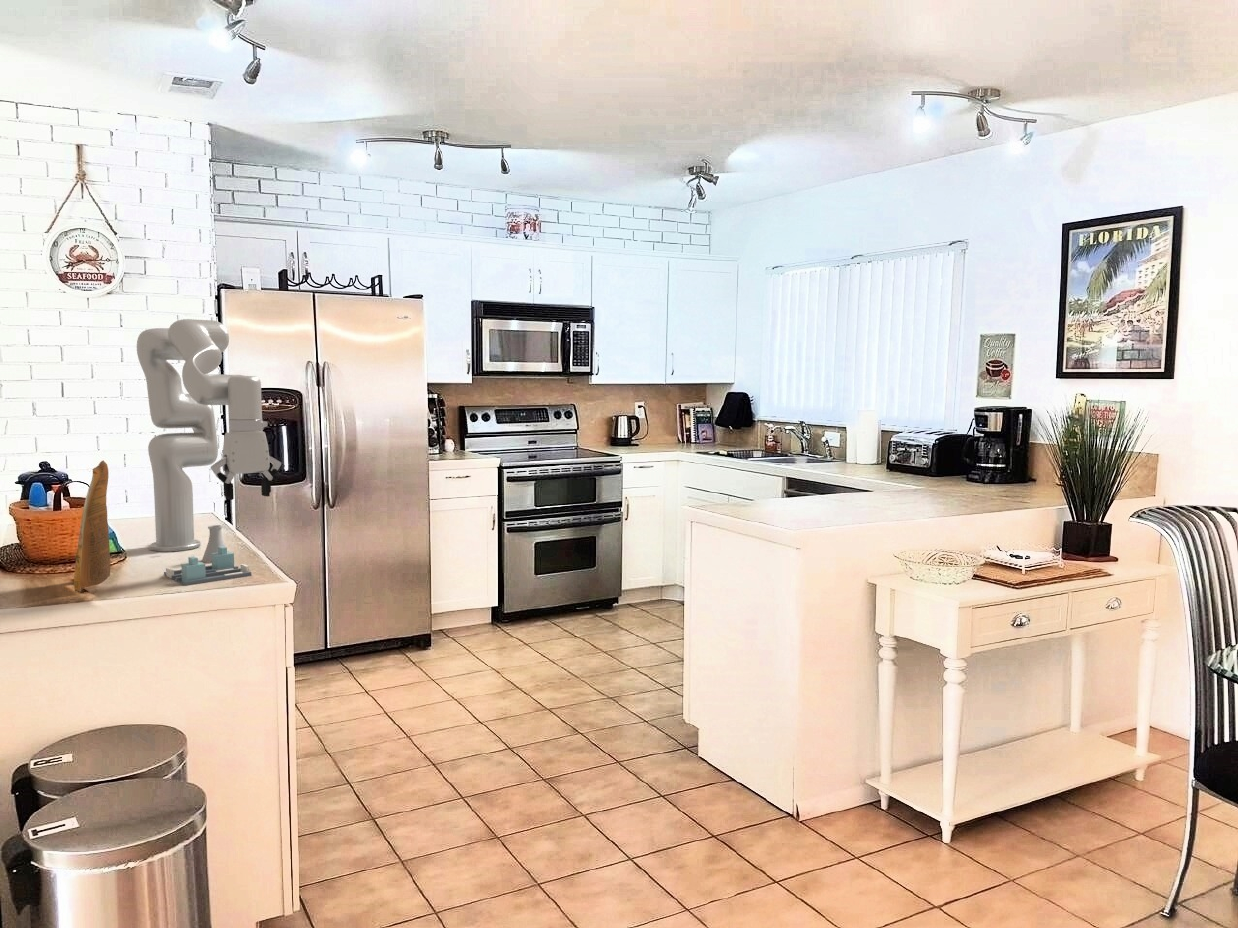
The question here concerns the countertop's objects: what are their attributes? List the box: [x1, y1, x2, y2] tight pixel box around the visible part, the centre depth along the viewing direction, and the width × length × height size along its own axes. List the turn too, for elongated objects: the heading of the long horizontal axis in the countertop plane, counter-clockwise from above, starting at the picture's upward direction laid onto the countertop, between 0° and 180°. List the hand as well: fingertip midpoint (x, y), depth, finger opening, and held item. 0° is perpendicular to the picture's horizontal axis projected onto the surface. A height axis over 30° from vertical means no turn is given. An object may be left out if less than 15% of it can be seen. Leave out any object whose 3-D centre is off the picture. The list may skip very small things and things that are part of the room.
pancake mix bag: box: [73, 460, 111, 594], centre depth 203 cm, size 7×19×28 cm, turn 16°
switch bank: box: [163, 563, 253, 587], centre depth 210 cm, size 14×15×3 cm
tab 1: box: [180, 555, 206, 581], centre depth 204 cm, size 4×4×6 cm
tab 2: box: [211, 546, 235, 570], centre depth 216 cm, size 4×4×6 cm
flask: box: [200, 524, 227, 564], centre depth 226 cm, size 7×7×10 cm
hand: (247, 497), depth 219 cm, fingers open, 8 cm apart
